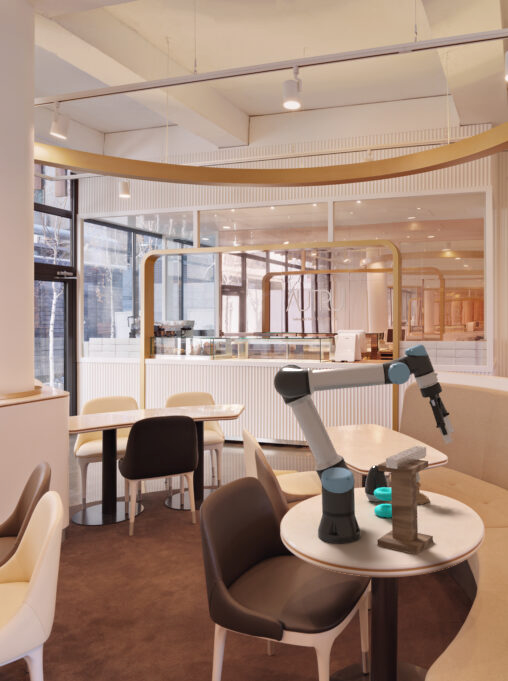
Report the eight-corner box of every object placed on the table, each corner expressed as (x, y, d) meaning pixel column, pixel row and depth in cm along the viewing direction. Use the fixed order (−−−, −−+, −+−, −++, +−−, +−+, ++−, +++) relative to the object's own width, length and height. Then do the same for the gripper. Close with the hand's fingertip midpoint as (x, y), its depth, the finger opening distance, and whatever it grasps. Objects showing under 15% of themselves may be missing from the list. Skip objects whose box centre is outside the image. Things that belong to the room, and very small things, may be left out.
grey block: (397, 468, 189) (397, 459, 189) (386, 467, 192) (385, 458, 192) (426, 455, 208) (426, 447, 208) (415, 454, 211) (415, 446, 210)
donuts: (369, 487, 233) (392, 485, 235) (370, 512, 233) (392, 509, 235) (380, 494, 223) (403, 491, 226) (381, 519, 223) (404, 517, 226)
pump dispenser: (379, 505, 241) (378, 469, 241) (360, 500, 249) (359, 465, 249) (394, 500, 248) (393, 465, 248) (374, 495, 256) (373, 461, 256)
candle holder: (408, 506, 240) (407, 458, 239) (394, 497, 252) (393, 452, 251) (434, 503, 243) (433, 455, 242) (419, 495, 255) (418, 450, 254)
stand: (416, 554, 188) (414, 469, 188) (377, 545, 197) (375, 464, 197) (432, 541, 199) (431, 461, 199) (395, 533, 208) (393, 456, 208)
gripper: (436, 387, 202) (458, 444, 202) (440, 375, 225) (460, 426, 225) (415, 394, 205) (438, 450, 204) (422, 382, 228) (442, 431, 227)
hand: (450, 437), depth 214 cm, fingers open, 13 cm apart
